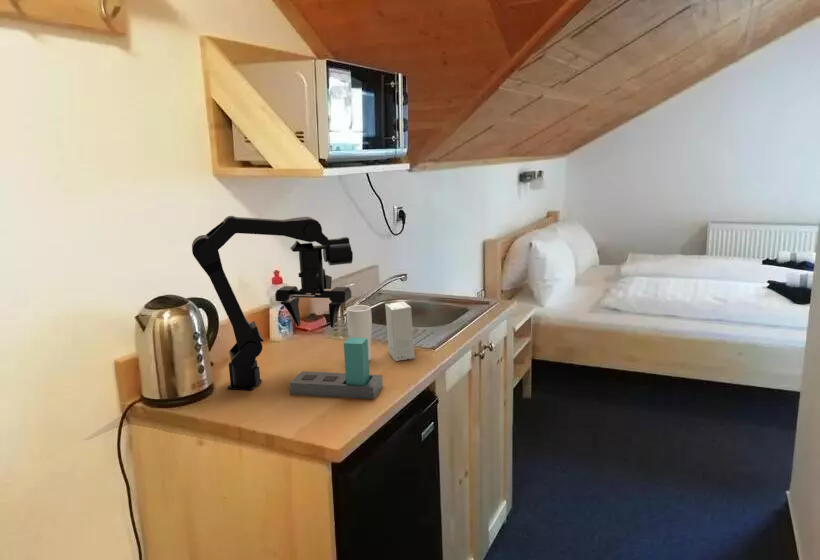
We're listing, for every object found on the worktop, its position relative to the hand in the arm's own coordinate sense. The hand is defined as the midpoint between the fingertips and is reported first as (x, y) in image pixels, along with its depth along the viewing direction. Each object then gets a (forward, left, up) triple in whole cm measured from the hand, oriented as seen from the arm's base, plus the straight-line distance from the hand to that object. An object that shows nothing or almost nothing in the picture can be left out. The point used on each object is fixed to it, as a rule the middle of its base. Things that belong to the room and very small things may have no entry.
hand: (315, 326), depth 165 cm
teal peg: (+14, -10, -13) cm, 22 cm away
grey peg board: (+8, -10, -13) cm, 18 cm away
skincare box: (+18, +17, -13) cm, 28 cm away
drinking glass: (+8, +12, -13) cm, 20 cm away
